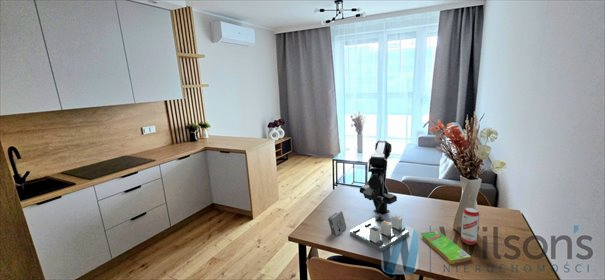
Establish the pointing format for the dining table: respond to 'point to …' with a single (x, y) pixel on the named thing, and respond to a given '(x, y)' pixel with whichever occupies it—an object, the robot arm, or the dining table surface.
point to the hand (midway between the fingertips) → (377, 209)
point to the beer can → (470, 225)
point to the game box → (445, 247)
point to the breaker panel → (385, 241)
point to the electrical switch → (337, 223)
